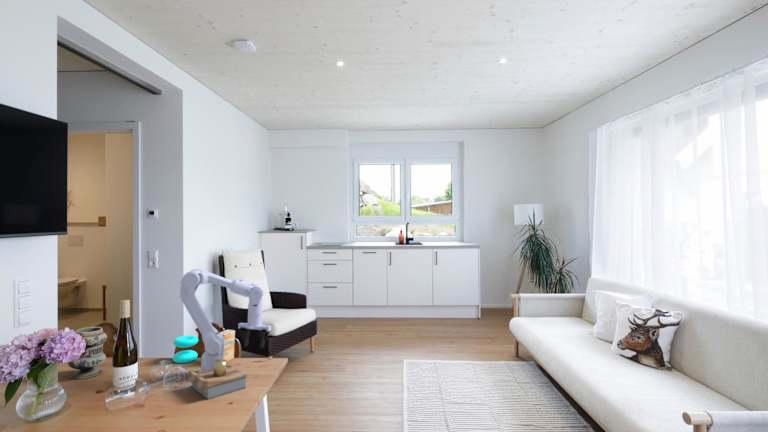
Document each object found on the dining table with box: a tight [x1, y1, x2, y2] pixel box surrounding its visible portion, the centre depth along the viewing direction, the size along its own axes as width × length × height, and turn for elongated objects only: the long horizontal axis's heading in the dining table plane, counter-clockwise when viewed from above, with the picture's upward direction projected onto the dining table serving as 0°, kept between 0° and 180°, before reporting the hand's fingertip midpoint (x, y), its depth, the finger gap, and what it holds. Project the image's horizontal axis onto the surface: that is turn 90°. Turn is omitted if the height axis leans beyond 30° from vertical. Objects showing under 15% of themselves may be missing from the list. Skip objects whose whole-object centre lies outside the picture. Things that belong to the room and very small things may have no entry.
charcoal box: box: [191, 377, 247, 400], centre depth 143 cm, size 14×14×4 cm
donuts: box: [172, 334, 199, 364], centre depth 171 cm, size 10×10×10 cm
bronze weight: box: [213, 359, 228, 377], centre depth 143 cm, size 4×4×5 cm
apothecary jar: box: [67, 326, 108, 380], centre depth 152 cm, size 12×12×18 cm
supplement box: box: [219, 329, 236, 363], centre depth 171 cm, size 8×5×13 cm, turn 168°
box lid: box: [187, 364, 247, 392], centre depth 142 cm, size 14×16×3 cm
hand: (253, 346), depth 160 cm, fingers open, 7 cm apart
